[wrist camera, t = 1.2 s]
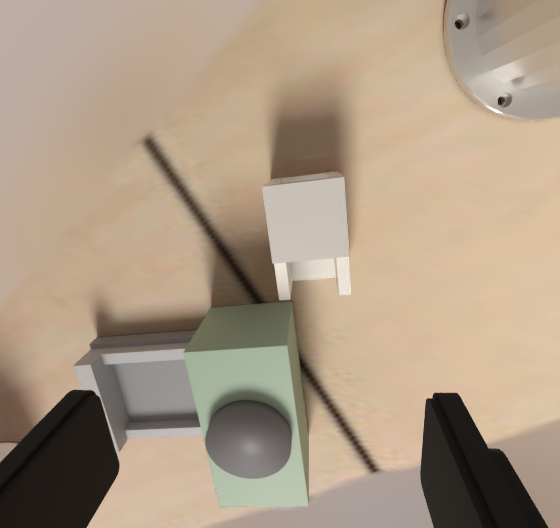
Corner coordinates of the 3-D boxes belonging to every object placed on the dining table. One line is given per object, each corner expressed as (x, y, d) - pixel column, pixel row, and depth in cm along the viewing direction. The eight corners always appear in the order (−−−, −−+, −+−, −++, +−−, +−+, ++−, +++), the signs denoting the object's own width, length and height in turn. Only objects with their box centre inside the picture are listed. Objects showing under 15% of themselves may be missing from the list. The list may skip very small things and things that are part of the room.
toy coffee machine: (292, 300, 30) (286, 354, 22) (308, 435, 34) (308, 518, 26) (90, 317, 32) (22, 371, 24) (130, 442, 36) (82, 521, 28)
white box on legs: (270, 179, 27) (261, 186, 22) (337, 171, 26) (344, 176, 21) (283, 278, 29) (278, 305, 24) (345, 272, 29) (352, 299, 24)
